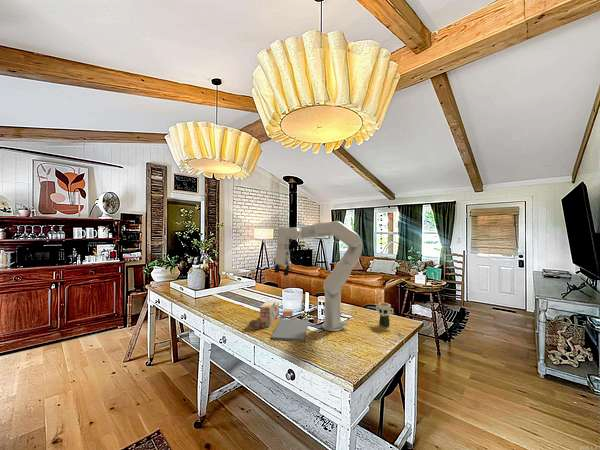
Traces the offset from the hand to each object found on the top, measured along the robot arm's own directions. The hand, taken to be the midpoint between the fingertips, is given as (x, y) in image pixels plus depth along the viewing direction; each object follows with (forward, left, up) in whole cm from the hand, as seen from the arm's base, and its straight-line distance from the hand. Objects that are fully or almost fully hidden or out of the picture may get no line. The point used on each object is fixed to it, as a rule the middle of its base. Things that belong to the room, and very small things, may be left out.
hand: (281, 273), depth 165 cm
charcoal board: (-8, +10, -31) cm, 33 cm away
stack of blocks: (+8, -3, -31) cm, 33 cm away
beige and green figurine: (-64, -5, -31) cm, 71 cm away
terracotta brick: (-2, -13, -31) cm, 34 cm away
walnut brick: (+14, +9, -31) cm, 35 cm away
